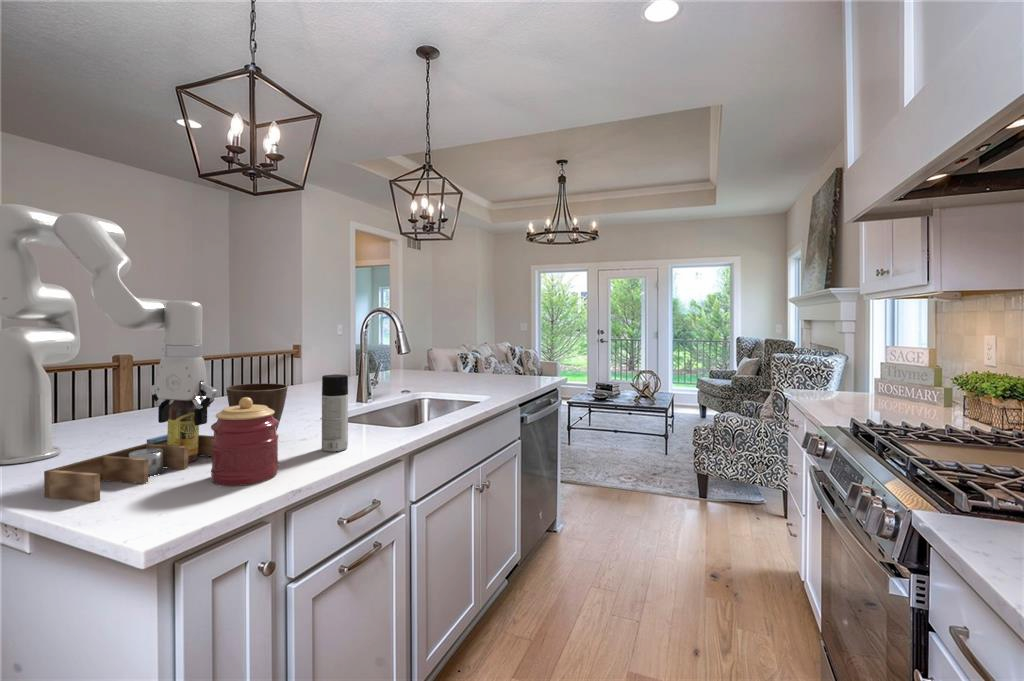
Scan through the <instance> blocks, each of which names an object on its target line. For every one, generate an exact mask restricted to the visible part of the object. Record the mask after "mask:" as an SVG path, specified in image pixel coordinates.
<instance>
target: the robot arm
mask: <svg viewBox="0 0 1024 681" xmlns="http://www.w3.org/2000/svg"><path fill="white" fill-rule="evenodd" d="M126 243H127V237H126V233H125V232H124V229H123V228H121V226H120V225H118V224H117V223H115V222H114V221H112V220H109V219H105V218H101V217H98V216H94V215H91V214H86V213H82V212H68V213H64V214H60V213H58V212H57V213H56V212H54V211H49V210H45V209H41V208H39V207H38V208H37V207H33V206H29V205H24V204H18V203H16V204H15V203H1V204H0V319H3V320H7V321H17V322H21V321H22V322H37V325H38V326H37V325H36V326H35V325H34V326H30V325H29V326H27V325H26V326H10V327H5V328H1V329H0V465H16V464H24V463H31V462H36V461H40V460H46V459H50V458H54V457H55V456H58V455H60V454H61V452H62V449H61V447H59V446H54V445H53V425H52V424H53V421H52V420H53V418H52V417H53V413H52V411H53V410H52V406H53V405H52V384H51V378H50V376H49V375H48V373H47V371H46V370H45V369H44V367H43V365H53V364H55V365H56V364H61V363H67V362H70V361H72V360H73V359H75V358H76V357H77V356H78V354H79V352H80V349H81V335H80V334H81V333H80V324H79V314H78V306H77V302H76V300H75V297H74V296H73V295H72V293H71V292H70V291H69V290H68V289H66V288H65V287H64V286H60V285H59V284H53V283H44V282H42V281H41V277H40V270H39V269H40V267H39V264H38V260H37V259H36V257H35V256H34V254H33V253H32V252H31V250H30V249H29V248H28V247H27V245H26V244H34V245H39V246H46V247H51V248H56V249H64V250H67V251H68V252H69V253H70V254H71V255H72V256H73V258H75V259H76V261H77V262H78V263H79V264H80V265H81V267H83V269H84V270H85V271H86V272H87V273H88V274H89V276H90V277H91V280H90V290H91V294H92V297H93V300H94V302H95V303H96V305H97V306H98V307H99V309H100V310H102V312H103V313H104V314H105V316H106V317H107V318H108V319H109V320H110V321H111V322H112V323H113V324H115V325H116V326H118V327H119V328H122V329H124V330H126V331H127V330H128V331H163V332H164V336H163V337H164V339H163V344H164V345H163V347H162V348H161V350H162V352H163V357H161V358H160V362H159V364H158V370H157V376H156V377H157V378H156V383H155V384H153V385H151V386H150V387H149V390H150V392H151V395H152V399H153V400H154V402H155V405H156V407H158V416H157V417H158V418H157V420H158V423H161V424H162V423H168V418H169V407H170V405H171V404H172V402H173V401H174V400H177V401H190V400H192V401H193V403H194V404H195V406H196V407H197V409H195V410H194V425H197V426H198V425H199V426H200V425H201V426H202V425H205V424H208V408H210V406H211V404H213V402H214V401H215V397H216V395H217V393H218V390H217V389H215V388H214V387H213V386H211V385H209V384H208V378H207V369H206V362H205V358H203V313H204V312H203V305H202V304H201V303H200V302H198V301H194V300H192V301H191V300H168V299H167V300H166V299H160V298H151V297H150V298H148V297H136V296H135V295H134V294H133V293H132V292H131V291H130V290H129V288H127V287H126V285H125V284H124V282H123V281H122V280H121V278H122V277H123V276H125V275H126V274H127V273H128V272H129V271H130V269H131V268H132V260H131V259H130V257H129V256H128V255H127V254H126V253H125V252H124V250H123V249H124V248H125V246H126Z"/></svg>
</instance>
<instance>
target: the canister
mask: <svg viewBox="0 0 1024 681" xmlns="http://www.w3.org/2000/svg"><path fill="white" fill-rule="evenodd" d="M252 404H253V402H252V400H251V398H248V397H244V398H242V399H241V400H240V401H239V405H238V406H231V407H229V406H227V407H224V408H223V409H222V410H220V411H219V412H217V413H216V414H215V418H216V419H217V420H216V422H214V423H213V424H211V426H210V429H211V430H212V431H213V436H214V438H213V440H212V441H211V444H212V457H211V469H210V476H211V480H212V482H213V483H214V484H216V485H219V486H229V487H235V486H237V487H238V486H247V485H253V484H258V483H263V482H265V481H268V480H270V479H272V478H274V477H275V476H276V475H277V474H278V470H279V457H278V456H279V455H278V454H279V452H278V451H279V450H278V449H279V448H278V446H279V434H277V431H276V426H277V425H278V423H279V424H280V422H279V421H278V420H277V419H275V418H273V416H272V415H273V414H274V413H275V411H274V410H272V409H270V408H268V407H267V406H265V405H252ZM278 426H279V425H278Z"/></svg>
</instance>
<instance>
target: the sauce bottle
mask: <svg viewBox="0 0 1024 681" xmlns="http://www.w3.org/2000/svg"><path fill="white" fill-rule="evenodd" d="M170 404H171V405H170V407H169V418H168V421H167V434H166V435H167V445H171V446H185V447H188V463H191V462H194V461H196V460H197V459H198V457H199V456H198V442H199V435H200V434H199V432H200V425H198V426H197V425H194V410H195V409H197V407H196V406H195V404H194V403H193V401H192V400H190V401H177V400H172V401H171V403H170Z"/></svg>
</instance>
